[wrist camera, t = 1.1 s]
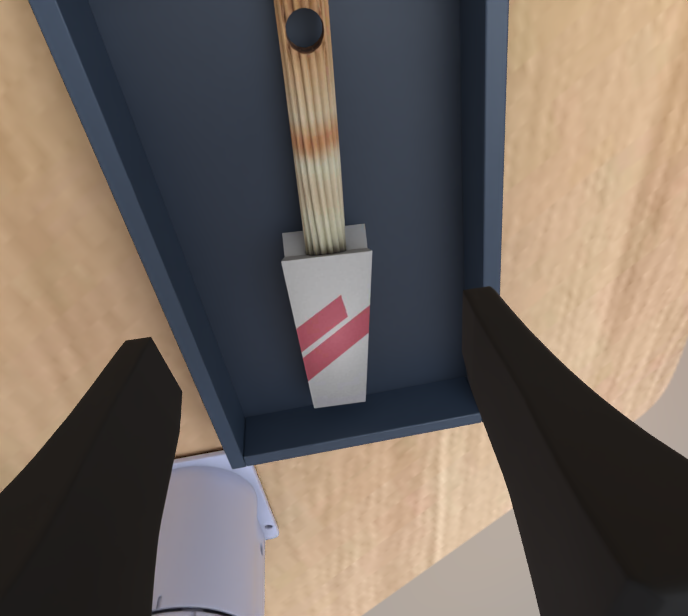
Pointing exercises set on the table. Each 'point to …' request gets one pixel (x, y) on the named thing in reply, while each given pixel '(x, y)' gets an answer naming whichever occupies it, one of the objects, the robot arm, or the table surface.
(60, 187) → the table surface
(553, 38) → the table surface
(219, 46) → the dark blue tray
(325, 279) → the churro in paper sleeve
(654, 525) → the robot arm
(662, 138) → the table surface
